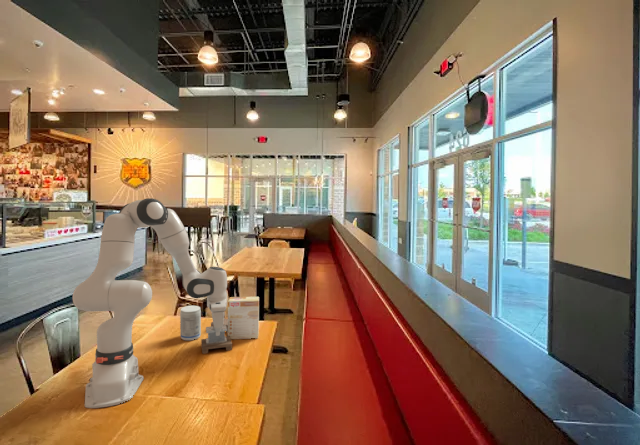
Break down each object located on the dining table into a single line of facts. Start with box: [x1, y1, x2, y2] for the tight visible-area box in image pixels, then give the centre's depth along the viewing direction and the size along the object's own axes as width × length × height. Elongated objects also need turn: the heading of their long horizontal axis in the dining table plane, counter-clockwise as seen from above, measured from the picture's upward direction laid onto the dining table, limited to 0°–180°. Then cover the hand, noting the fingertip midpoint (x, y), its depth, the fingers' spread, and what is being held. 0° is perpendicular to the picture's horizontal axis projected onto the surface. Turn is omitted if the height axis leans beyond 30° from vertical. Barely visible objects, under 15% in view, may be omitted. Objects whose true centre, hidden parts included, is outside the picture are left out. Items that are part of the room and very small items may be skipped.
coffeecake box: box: [227, 296, 260, 340], centre depth 177 cm, size 15×7×20 cm, turn 98°
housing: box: [205, 325, 227, 345], centre depth 163 cm, size 9×5×6 cm, turn 111°
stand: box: [200, 335, 233, 355], centre depth 164 cm, size 9×13×3 cm
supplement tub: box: [179, 305, 202, 341], centre depth 174 cm, size 10×10×15 cm
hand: (216, 331), depth 163 cm, fingers open, 8 cm apart
